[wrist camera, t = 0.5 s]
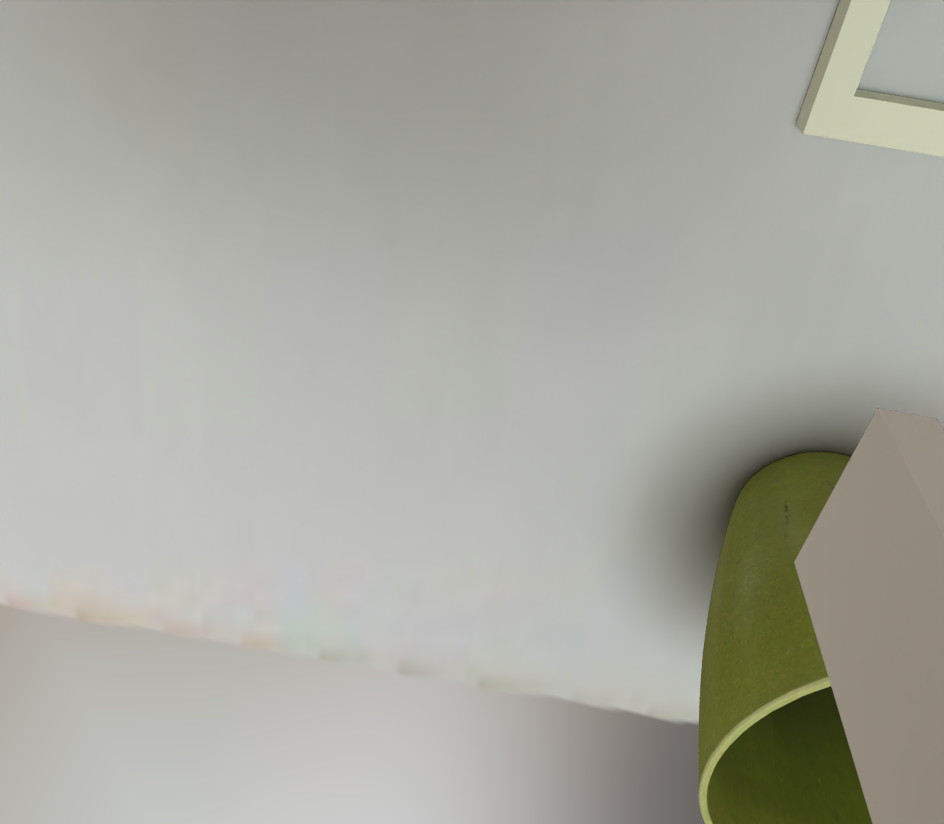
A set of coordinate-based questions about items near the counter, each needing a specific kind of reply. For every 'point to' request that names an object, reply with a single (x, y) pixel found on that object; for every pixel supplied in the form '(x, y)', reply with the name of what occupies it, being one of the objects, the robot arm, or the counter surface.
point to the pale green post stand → (859, 111)
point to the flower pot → (772, 666)
